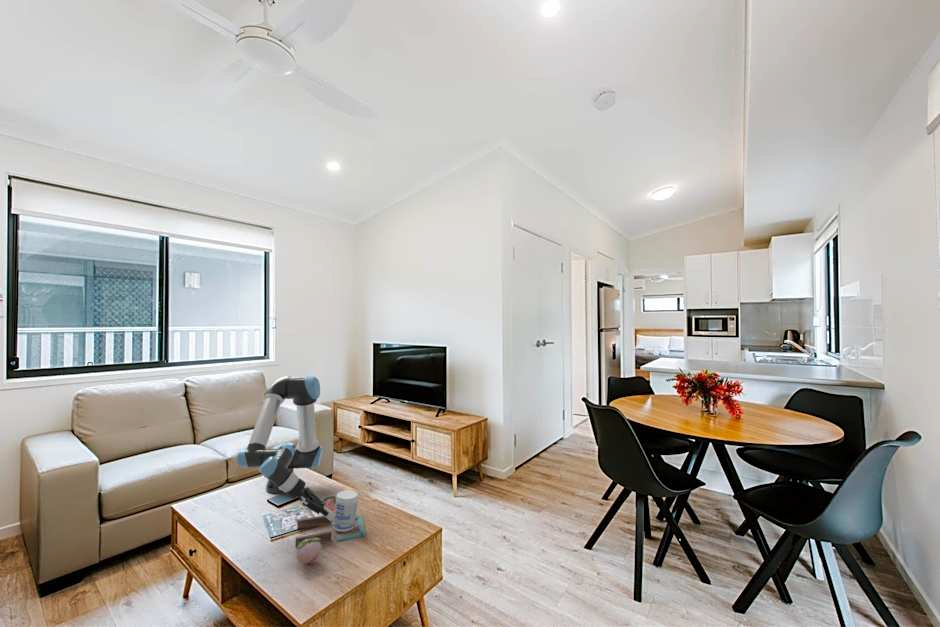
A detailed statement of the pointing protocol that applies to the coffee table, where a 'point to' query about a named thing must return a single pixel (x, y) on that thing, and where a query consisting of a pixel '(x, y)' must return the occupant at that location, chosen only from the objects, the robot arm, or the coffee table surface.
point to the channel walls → (311, 523)
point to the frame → (350, 536)
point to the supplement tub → (345, 511)
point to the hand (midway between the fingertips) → (332, 517)
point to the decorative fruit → (308, 550)
